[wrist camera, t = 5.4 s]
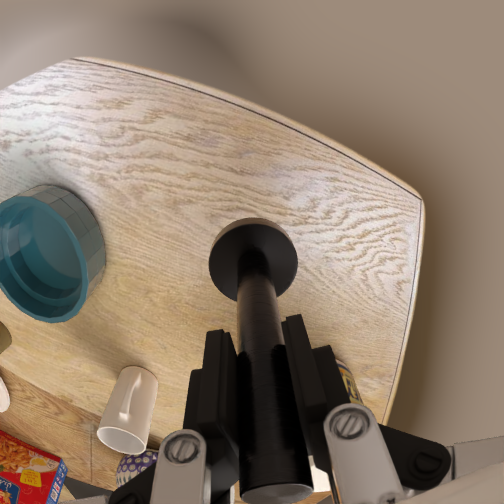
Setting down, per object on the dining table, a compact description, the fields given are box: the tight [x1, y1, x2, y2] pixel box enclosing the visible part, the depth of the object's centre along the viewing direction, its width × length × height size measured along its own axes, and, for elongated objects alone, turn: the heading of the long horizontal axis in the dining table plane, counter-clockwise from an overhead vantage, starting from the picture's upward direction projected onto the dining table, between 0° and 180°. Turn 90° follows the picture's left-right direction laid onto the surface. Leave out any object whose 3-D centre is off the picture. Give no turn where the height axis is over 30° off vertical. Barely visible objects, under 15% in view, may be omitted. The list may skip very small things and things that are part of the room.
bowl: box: [0, 185, 106, 323], centre depth 31 cm, size 16×16×6 cm
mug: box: [97, 366, 158, 454], centre depth 37 cm, size 10×7×12 cm, turn 162°
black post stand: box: [209, 218, 314, 504], centre depth 12 cm, size 5×5×14 cm
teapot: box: [116, 449, 159, 488], centre depth 46 cm, size 25×15×15 cm, turn 167°
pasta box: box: [0, 430, 68, 504], centre depth 43 cm, size 28×8×28 cm, turn 77°
